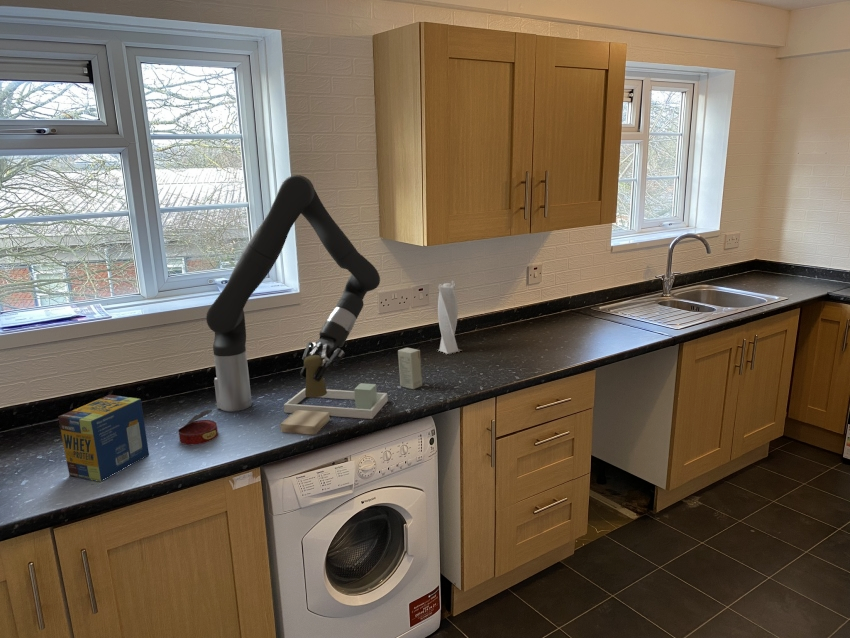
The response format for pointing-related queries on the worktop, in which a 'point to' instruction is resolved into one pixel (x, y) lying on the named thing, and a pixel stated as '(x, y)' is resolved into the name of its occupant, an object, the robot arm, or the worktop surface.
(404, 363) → the skincare box
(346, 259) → the robot arm
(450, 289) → the skyscraper
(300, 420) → the board
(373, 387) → the sage block
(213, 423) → the canned food
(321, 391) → the olive pawn
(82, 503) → the worktop surface
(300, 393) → the white rectangular frame
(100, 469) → the protein box
